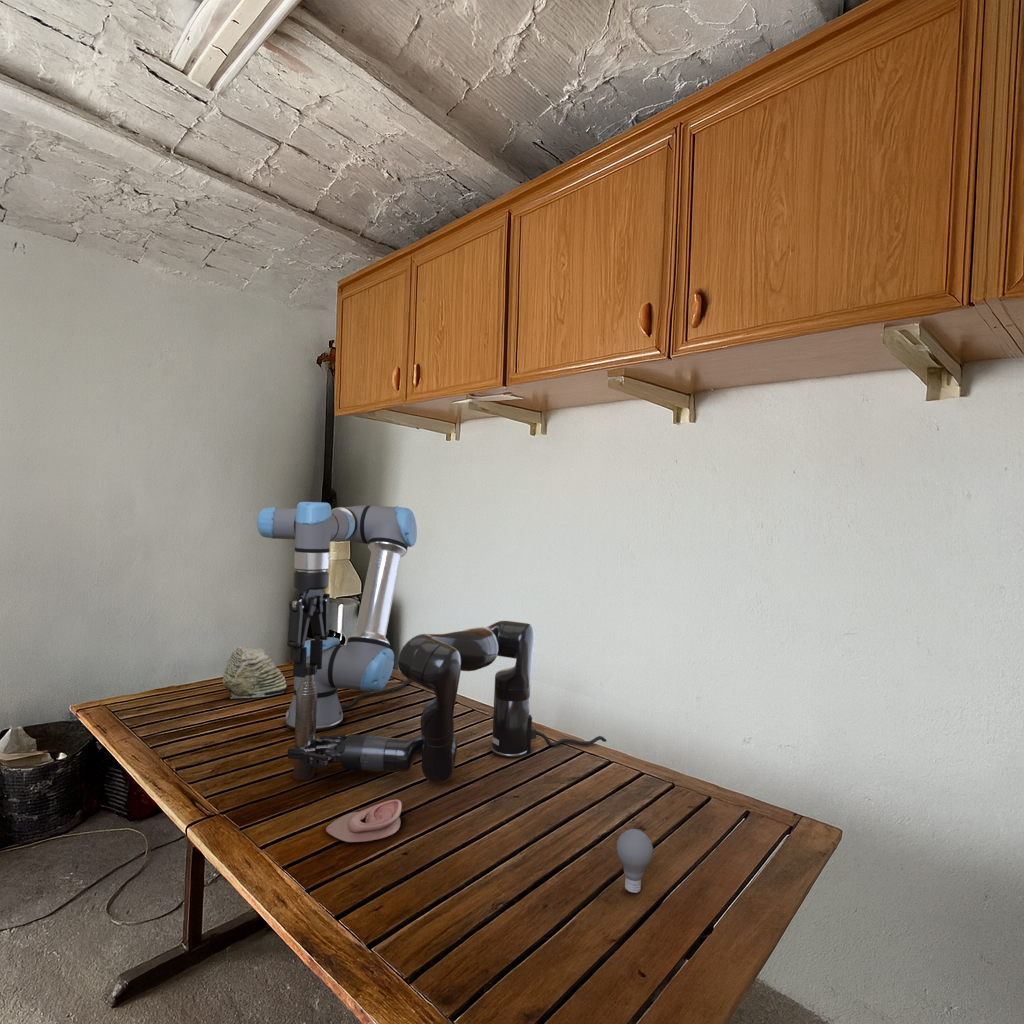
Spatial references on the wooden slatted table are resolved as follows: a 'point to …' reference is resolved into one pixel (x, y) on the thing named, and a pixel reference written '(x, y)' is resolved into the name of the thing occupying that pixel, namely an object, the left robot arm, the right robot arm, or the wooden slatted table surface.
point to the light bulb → (634, 857)
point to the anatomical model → (368, 823)
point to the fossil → (252, 674)
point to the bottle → (305, 724)
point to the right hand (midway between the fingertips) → (293, 748)
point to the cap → (311, 669)
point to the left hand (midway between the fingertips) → (307, 672)
